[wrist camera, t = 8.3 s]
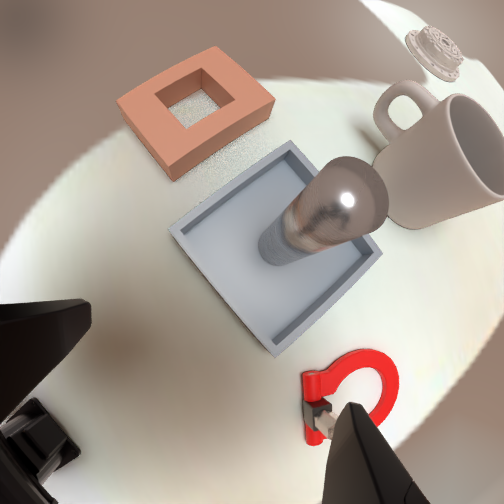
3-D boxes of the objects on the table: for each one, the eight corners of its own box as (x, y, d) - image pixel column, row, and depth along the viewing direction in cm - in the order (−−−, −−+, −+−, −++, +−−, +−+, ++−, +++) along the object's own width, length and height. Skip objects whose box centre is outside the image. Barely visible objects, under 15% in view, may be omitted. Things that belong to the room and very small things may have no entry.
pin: (267, 272, 21) (339, 246, 10) (251, 234, 22) (304, 166, 10) (303, 257, 22) (400, 219, 10) (288, 220, 22) (368, 149, 10)
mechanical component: (425, 78, 29) (463, 87, 30) (442, 61, 24) (479, 74, 26) (393, 29, 30) (434, 42, 31) (406, 12, 25) (447, 28, 27)
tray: (267, 350, 21) (274, 357, 19) (172, 235, 21) (167, 228, 19) (367, 257, 23) (383, 253, 21) (282, 153, 23) (290, 139, 21)
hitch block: (173, 182, 22) (168, 166, 19) (124, 119, 22) (115, 100, 19) (268, 118, 24) (275, 99, 21) (214, 66, 24) (215, 45, 21)
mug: (446, 197, 26) (521, 164, 15) (410, 248, 24) (502, 225, 13) (375, 109, 26) (433, 47, 15) (326, 147, 24) (389, 72, 13)
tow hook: (391, 338, 23) (297, 361, 22) (510, 357, 11) (401, 424, 9) (390, 418, 22) (303, 448, 21) (487, 466, 10) (380, 538, 8)
